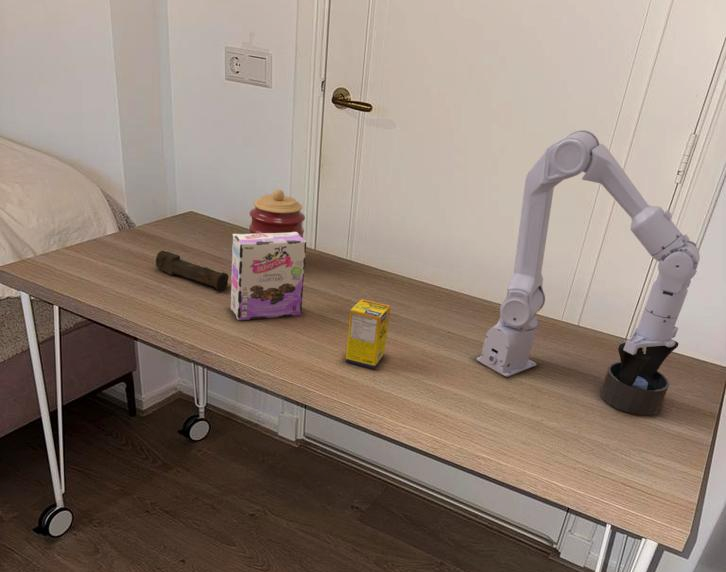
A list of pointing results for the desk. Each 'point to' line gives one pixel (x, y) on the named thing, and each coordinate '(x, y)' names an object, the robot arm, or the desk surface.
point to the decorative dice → (640, 383)
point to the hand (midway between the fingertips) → (636, 378)
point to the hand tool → (190, 270)
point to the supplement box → (367, 333)
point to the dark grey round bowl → (634, 392)
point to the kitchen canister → (276, 214)
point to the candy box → (267, 275)
